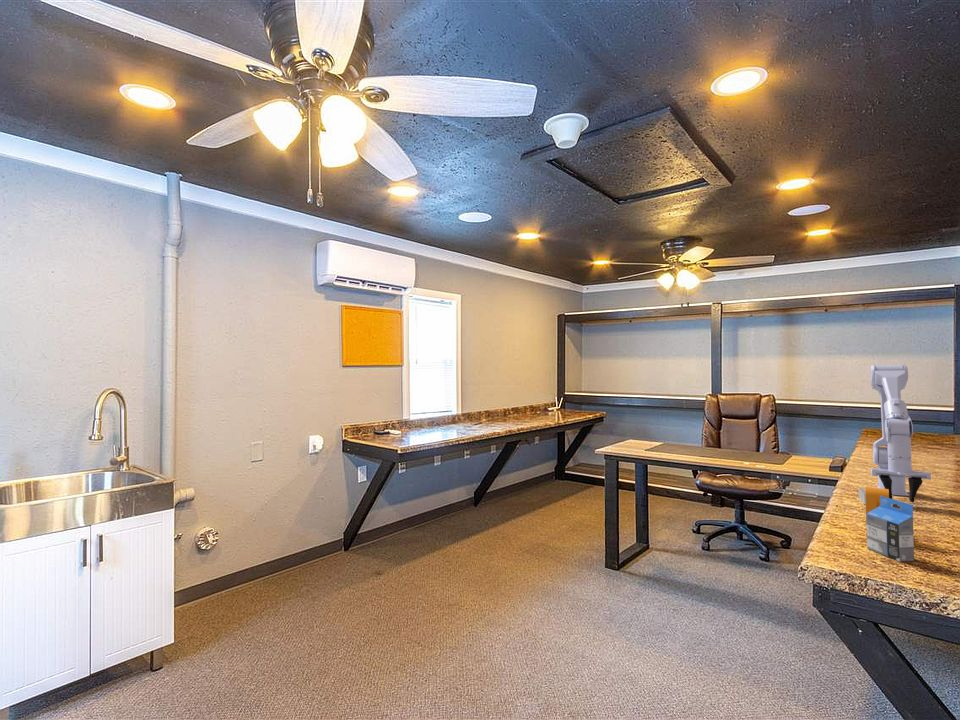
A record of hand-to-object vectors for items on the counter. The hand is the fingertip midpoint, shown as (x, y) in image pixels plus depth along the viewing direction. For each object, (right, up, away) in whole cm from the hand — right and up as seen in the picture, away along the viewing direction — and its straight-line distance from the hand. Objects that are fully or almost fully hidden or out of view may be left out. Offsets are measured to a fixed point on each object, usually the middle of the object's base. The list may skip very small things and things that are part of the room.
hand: (900, 500), depth 161 cm
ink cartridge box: (-39, -1, -44) cm, 59 cm away
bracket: (-29, -1, -31) cm, 43 cm away
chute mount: (-5, -2, +3) cm, 6 cm away
